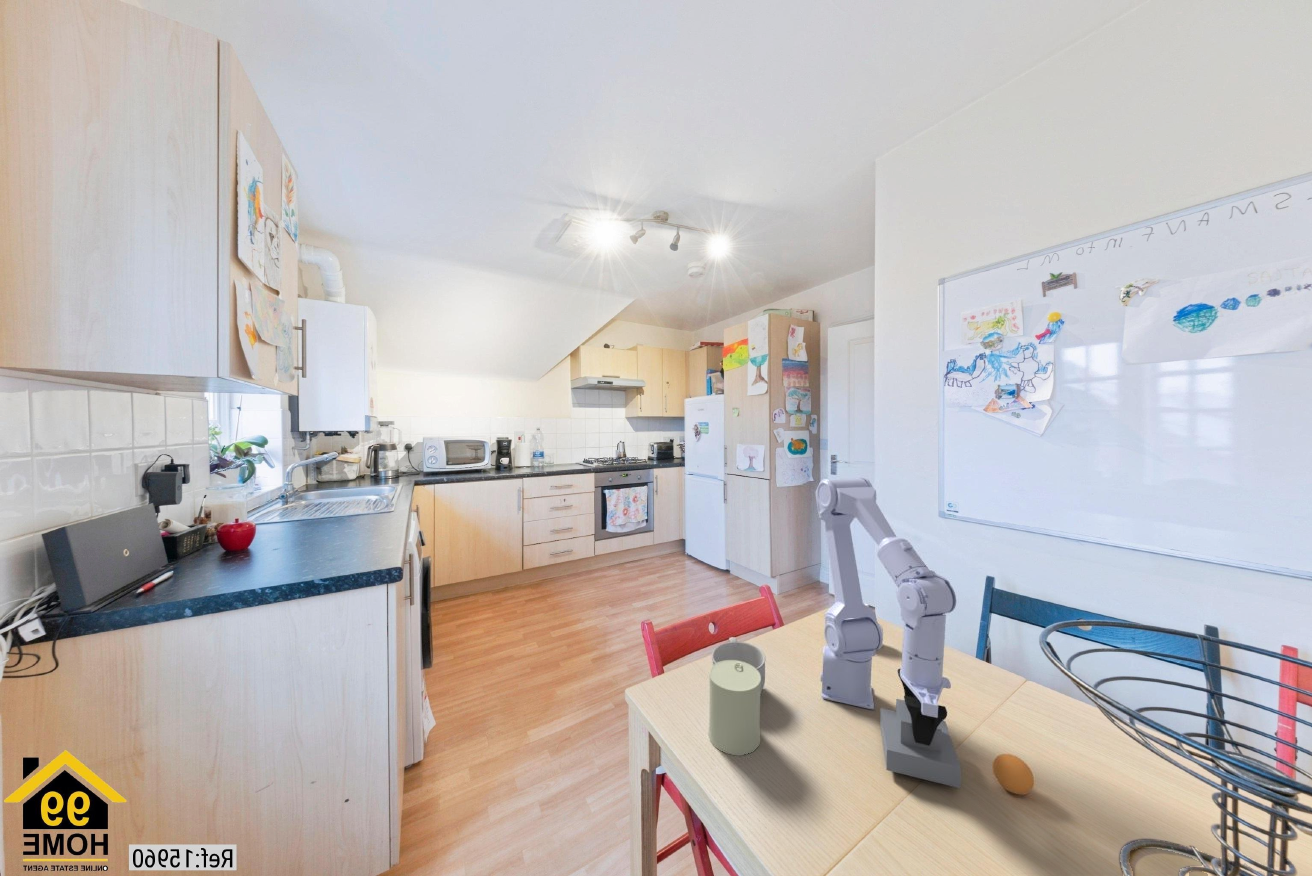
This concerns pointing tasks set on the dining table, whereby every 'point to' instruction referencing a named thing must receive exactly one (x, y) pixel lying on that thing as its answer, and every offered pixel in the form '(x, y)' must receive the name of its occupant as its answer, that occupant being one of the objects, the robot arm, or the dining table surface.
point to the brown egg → (1013, 774)
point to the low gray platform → (918, 749)
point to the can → (734, 707)
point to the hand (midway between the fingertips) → (918, 729)
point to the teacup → (741, 655)
